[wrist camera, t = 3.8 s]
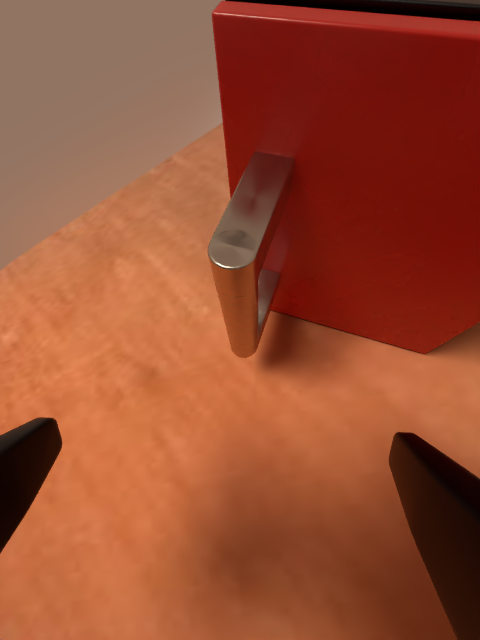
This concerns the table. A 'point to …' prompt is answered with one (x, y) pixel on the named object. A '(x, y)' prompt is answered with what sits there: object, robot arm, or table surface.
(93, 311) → the table surface
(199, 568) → the table surface
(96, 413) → the table surface
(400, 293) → the door
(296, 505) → the table surface
